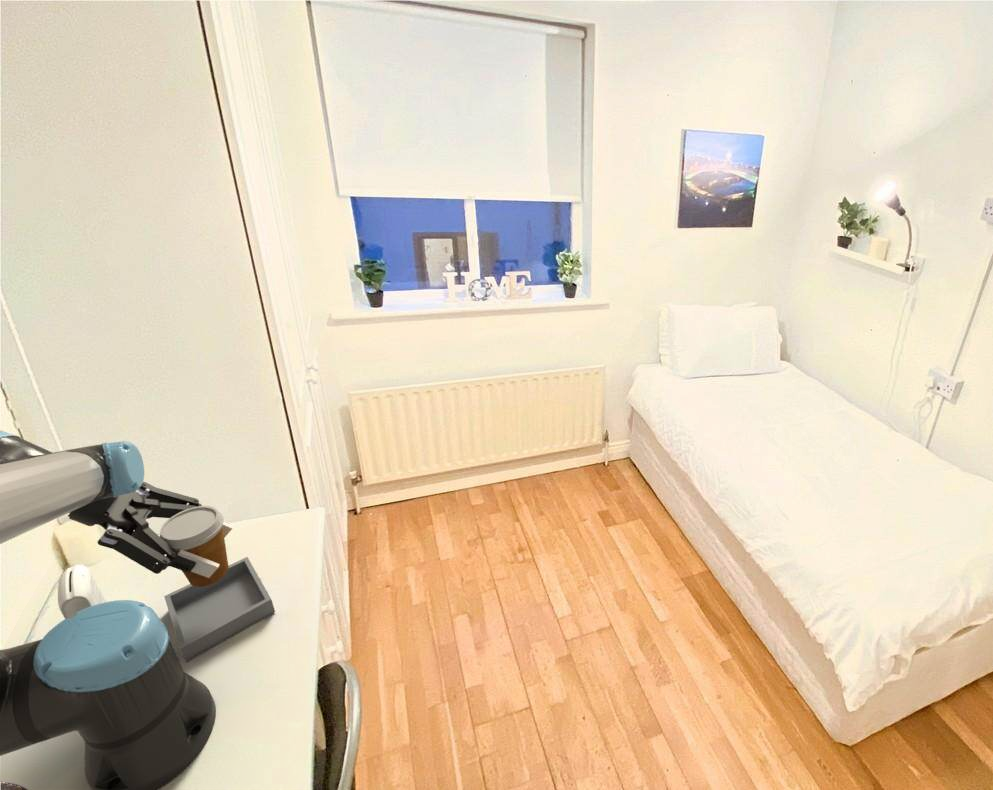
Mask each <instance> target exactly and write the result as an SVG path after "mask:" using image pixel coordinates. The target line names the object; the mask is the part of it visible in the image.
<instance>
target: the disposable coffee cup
mask: <svg viewBox="0 0 993 790" xmlns="http://www.w3.org/2000/svg"><path fill="white" fill-rule="evenodd" d="M223 522H225V521H224V515H223V514H222V512H220V511H218V509H217V508H215V507H213V506H211V505H210V506H209V505H202V506H198V507H193V508H189V509H186V510H184V511H182V512H179V513H177V514H176V515H174V516H172V517H171V518H167V520H166V521H165V522H164V523H163V525H162V526H161V528H160V532H159V533H160V534H159V537H160V538H162V539H163V540H164V541H165V542H166V543H167V544H168V545H169V546H170V547H171V548H173V549H174V550H175V551H176V552H177V553H178V552H179V551H180V550H181V549H182V550H184V551H187V552H190V553H192V554H195V555H197V556H200V557H202V558H205V559H208V560H210V561H213V562H215V563H218V564H220V565H219V567H218V569H217V570H216V571H215V572H214V573H213V574H212V575H211V576H210V578H207V577H205V576H202V575H199V574H197V573H194V572H191V571H190V572H185V571H182V570H181V572H182V573H183V575H184V576H185V578H186V579H187V581H188V583H189V584H191V585H193V586H196V587H203V586H207V585H210V584H213V583H215V582H217V581H218V580H220V579H221V578H222V577H223V576H224V575H225V574H226V572H227V571H228V567H229V559H228V555H227V547H226V541H225V538H224V532H223Z"/></svg>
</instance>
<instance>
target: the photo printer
mask: <svg viewBox="0 0 993 790" xmlns="http://www.w3.org/2000/svg"><path fill="white" fill-rule="evenodd" d="M104 602H107V601H106V599H105V597H104V595H103V593H102V591H101V589H100V588H99V585H98V583H97V582H96V579H95V577H94V576H93V574H92V572H91V570H90V569H89V568H88V567H87V566H85V565H83V564H76V565H73V566H71V567H68V568H66V569H65V571H64V572H63V573H62V574H61V575H60V579H59V581H58V585H57V605H58V609H59V611H60V613H61V614H62V617H63V618H64V620H65V619H71V618H74V617H75V614H76V613H77V612H79V611H81V610H83V609H86V608H88V607H91V606H94V605H97V604H100V603H104Z"/></svg>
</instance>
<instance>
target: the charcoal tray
mask: <svg viewBox="0 0 993 790" xmlns="http://www.w3.org/2000/svg"><path fill="white" fill-rule="evenodd" d="M228 566H229V567H228V571H227V572H226V574H225V575H224V576H223V577H222V578H221V579H220V580H218V581H217V582H215V583H213V584H210V585H207V586H203V587H196V586H193V585H191V584H190V583H189V584H187V585H185V586H182V587H180V588H178V589H176V590H174V591H172V592H170V593H168V594H166V595H164V596H163V597H164V601H165V603H166V606H167V610H168V614H169V617H170V620H171V624H172V626H173V630H174V633H175V636H176V640H177V642H178V643H177V644H178V646H179V649H180V651H181V654H182V656H183V658H184V661H185V663H188V662H191V661H192V660H194V659H196V658H197V657H199V656H201V655H203V654H205V653H206V652H208V651H210V650H212V649H214V648H215V647H217V646H219V645H221V644H222V643H224V642H226V641H227V640H229V639H230V638H233V637H235V636H236V635H237V634H240V633H241V632H244V631H245V630H247V629H248V628H250V627H252V626H254V625H256V624H257V623H259V622H262V619H263V620H264V618H265V619H266V618H268V617H270V616H272V615H273V614H275V613H276V610H275V607H274V603H273V600H272V598H271V596H270V594H269V593H268V590H267V589H266V587H265V585H264V584H263V582H262V580H261V578H260V576H259V575H258V573H257V571H256V570H255V568H254V566H253V565H252V562H251V561H250V558H249V557H248V556H246V557H244V558H242V559H240V560H237V561H236V562H234V563H233V562H232V563H231V564H228ZM274 612H275V613H274ZM272 613H273V614H272ZM271 614H272V615H271ZM269 615H270V616H269Z"/></svg>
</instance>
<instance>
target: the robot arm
mask: <svg viewBox="0 0 993 790" xmlns="http://www.w3.org/2000/svg"><path fill="white" fill-rule="evenodd" d="M21 437H22V436H19V435H16V434H13V433H9V432H7V431H3V430H1V429H0V545H1V544H3V543H5V542H7V541H10V540H12V539H15V538H17V537H19V536H21V535H23V534H25V533H27V532H30V531H32V530H35V529H36V528H38V527H42V526H43V525H45V524H47V523H50V522H51V521H54V520H56V519H58V518H61V517H63V516H65V515H67V514H68V515H67V518H68V519H69V520H71V521H73V522H77V523H79V524H83V525H85V526H88V527H93V526H95V525H99V526H100V527H102V528H103V529H104V530H105V531H104V532H103V534H102V535H101V536H100V538H99V539H98V540H97V544H98V545H99V546H102V547H105V548H109V549H111V550H114V551H116V552H117V553H118V554H121V555H122V556H125V558H128V559H130V560H131V561H133V562H135V563H136V564H138V565H140V566H141V567H143V568H144V569H146V570H149V571H150V572H152V573H153V574H156V575H158V574H160V573H162V571H165V570H167V568H168V567H171V568H174V569H177V570H179V571H181V572H182V571H185V572H190V571H191V572H194V573H197V574H199V575H202V576H205V577H207V578H210V576H211V575H212V574H213V573H214V572H215V571H216V570H217V569H218V567H219V565H220V564H218V563H215V562H213V561H210V560H208V559H205V558H202V557H200V556H197V555H195V554H192V553H190V552H187V551H184V550H182V549H181V550H180V551H179V552H178V553H177V552H176V551H175V550H174V549H173V548H171V547H170V546H169V545H168V544H167V543H166V542H165V541H164V540H163V539H162V538H160V535H158V534H157V532H155V531H154V530H153V529H152V528H151V527H150V524H149V522H148V521H147V519H148V520H149V519H151V518H161V519H170V518H171V517H172V516H174V515H176V514H177V513H179V512H182V511H184V510H186V509H189V508H193V507H198V506H203V505H202V504H201V503H200V500H199V499H198V498H196V497H191V496H189V495H186V494H185V495H184V494H180V493H178V492H174V491H170V490H166V489H163V488H160V487H159V488H158V487H155V485H152V484H150V483H148V482H146V481H144V479H145V465H144V460H143V458H142V453H141V452H140V449H139V448H138V446H136V445H135V444H134V443H132V442H131V441H127V440H121V441H115V442H114V441H113V442H103V443H102V442H101V444H94V445H89V446H83V447H77V448H71V449H66V450H61V451H59V450H58V451H55V452H52V451H50V450H48V449H46V448H44V447H41V446H38V445H36V444H35V443H32V442H30V441H28V440H26V439H24V438H21ZM233 528H234V525H232V524H229V523H228V522H225V521H224V522H223V532H224V539H225V538H226V537H227V536H228V534H229V533H230V532H231V531H233ZM216 717H217V707H216V702H215V700H214V698H213V695H212V693H211V691H210V689H209V688H208V687H207V685H206V684H204V683H203V682H202V681H200V680H198V679H197V678H195V677H193V676H192V675H190V674H189V673H187V672H186V671H185V670H184V668H183V666H182V664H181V662H180V659H179V657H178V654H177V653H176V650H175V648H174V645H173V643H172V641H171V639H170V636H169V632H168V629H167V626H166V625H165V624H164V622H163V621H162V620H161V619H160V617H159V616H158V614H157V613H156V611H155V610H154V609H153V608H152V607H151V606H148V605H146V604H145V603H144V602H141V601H137V600H133V599H132V600H131V599H130V600H129V599H118V600H111V601H106V602H104V603H100V604H97V605H94V606H91V607H88V608H86V609H83V610H81V611H79V612H77V613H76V614H75V617H74V618H71V619H65V618H64V619H63V620H62V621H60V622H59V623H58V624H56V625H55V626H54V627H52V628H51V629H50V630H49V631H48V632H47V633H46V634H45V635H44V636H43V638H42V639H39V640H35V641H30V642H27V643H23V644H21V645H16V646H12V647H9V648H5V649H0V757H2V756H4V755H7V754H11V753H12V752H15V751H19V750H21V749H24V748H27V747H30V746H33V745H36V744H38V743H43V742H46V741H48V740H51V739H53V738H56V737H60V736H63V735H65V734H69V733H71V732H78V734H79V736H80V737H81V738H82V739H83V741H84V776H85V779H86V782H87V784H88V786H89V787H90V788H91V790H159V789H161V788H162V787H164V786H165V785H168V784H169V783H170V782H171V781H172V780H174V779H176V777H178V776H179V775H180V774H181V773H182V772H183V771H184V770H186V768H187V767H189V765H190V764H191V763H192V762H193V761H194V760H195V758H197V756H198V755H199V753H201V751H202V750H203V748H204V746H205V745H206V743H207V741H208V740H209V738H210V735H211V733H212V731H213V728H214V725H215V722H216Z"/></svg>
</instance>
